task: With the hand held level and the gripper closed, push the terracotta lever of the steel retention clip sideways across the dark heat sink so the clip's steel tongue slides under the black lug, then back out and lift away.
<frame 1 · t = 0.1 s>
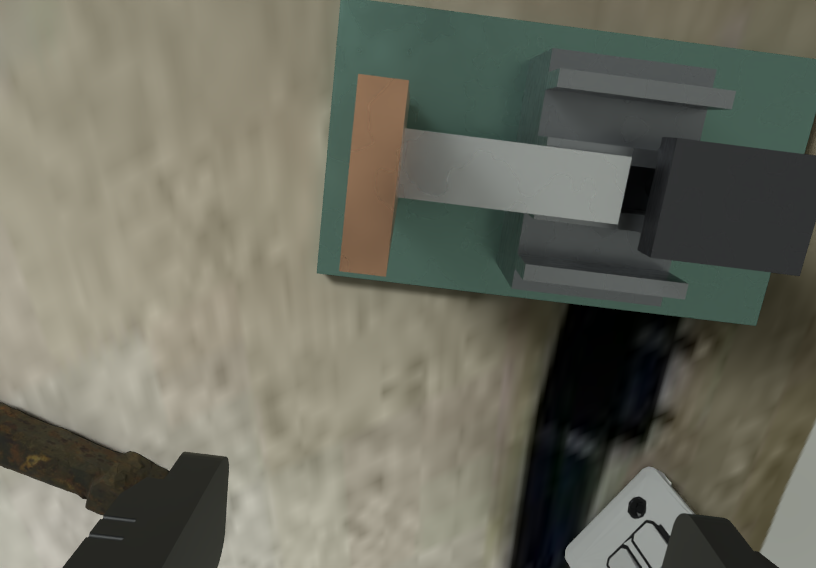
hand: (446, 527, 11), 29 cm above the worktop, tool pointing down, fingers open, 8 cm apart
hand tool: (75, 432, 43), on the worktop
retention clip: (495, 174, 28), point 11 cm above the worktop, slide at 0.0 cm
electrical switch: (632, 521, 45), on the worktop
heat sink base: (493, 162, 38), on the worktop
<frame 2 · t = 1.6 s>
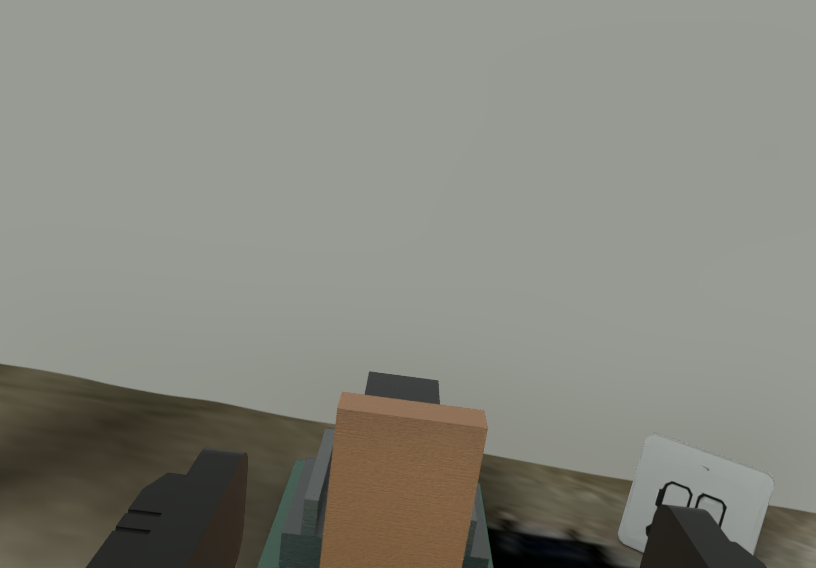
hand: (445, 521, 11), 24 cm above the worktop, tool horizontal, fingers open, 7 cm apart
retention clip: (391, 520, 33), point 11 cm above the worktop, slide at 0.0 cm
electrical switch: (676, 552, 50), on the worktop
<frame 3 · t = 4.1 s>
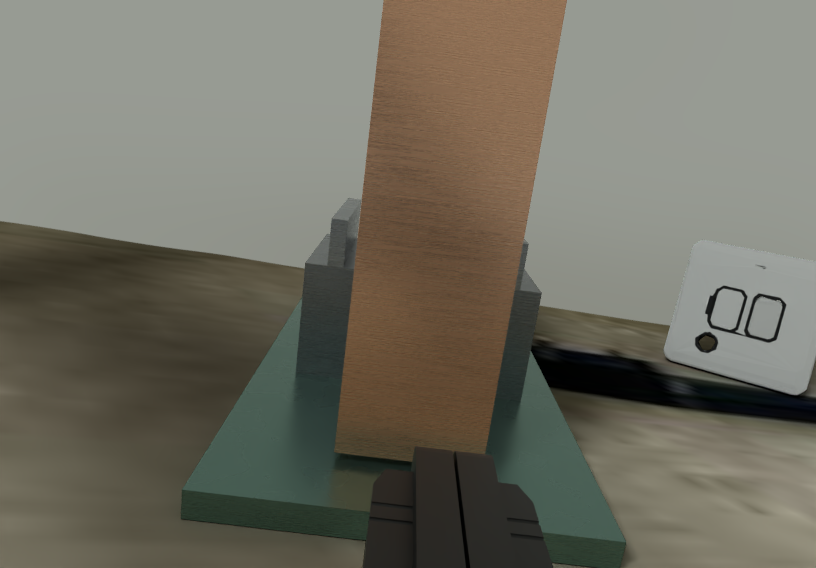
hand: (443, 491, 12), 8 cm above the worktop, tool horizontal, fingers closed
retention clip: (434, 218, 28), point 11 cm above the worktop, slide at 0.0 cm
electrical switch: (726, 371, 46), on the worktop
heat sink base: (405, 416, 32), on the worktop
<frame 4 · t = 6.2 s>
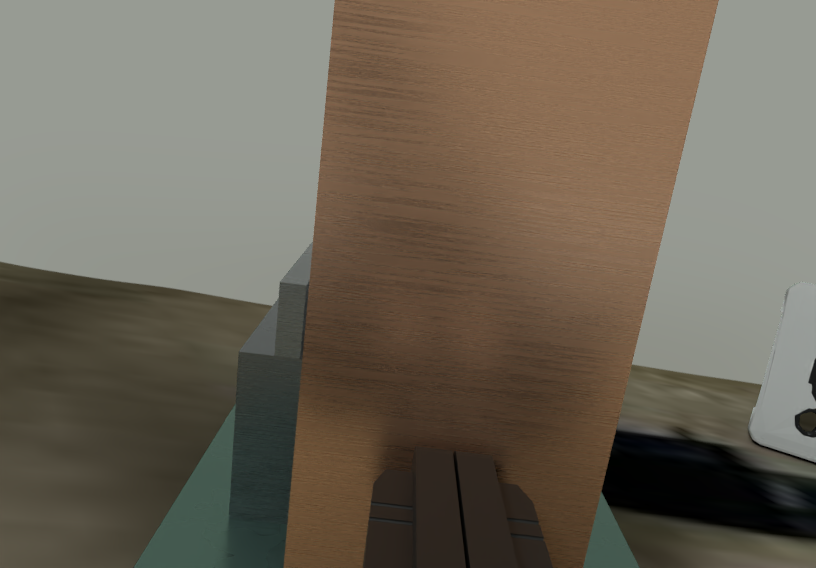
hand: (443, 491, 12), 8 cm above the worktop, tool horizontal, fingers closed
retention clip: (448, 285, 17), point 11 cm above the worktop, slide at 0.6 cm, touching gripper
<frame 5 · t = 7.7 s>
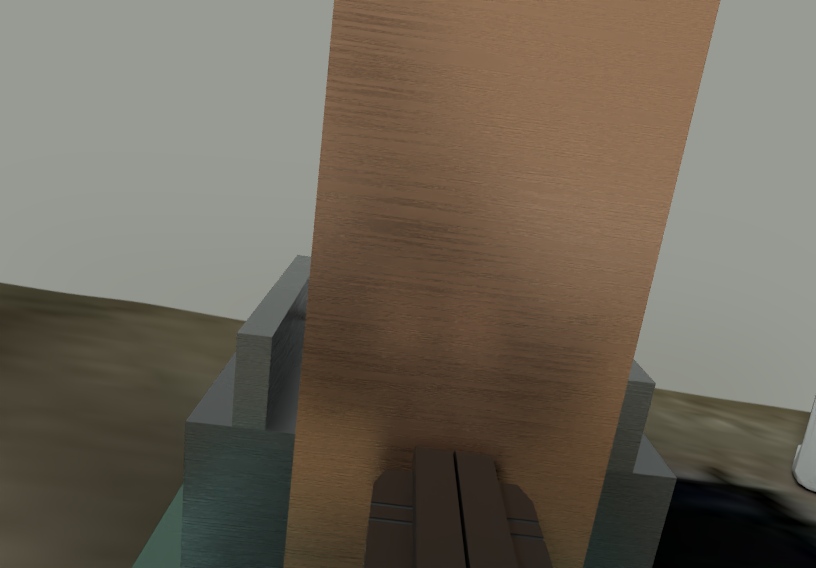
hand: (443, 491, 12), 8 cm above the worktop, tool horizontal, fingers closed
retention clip: (447, 283, 17), point 11 cm above the worktop, slide at 5.2 cm, touching gripper
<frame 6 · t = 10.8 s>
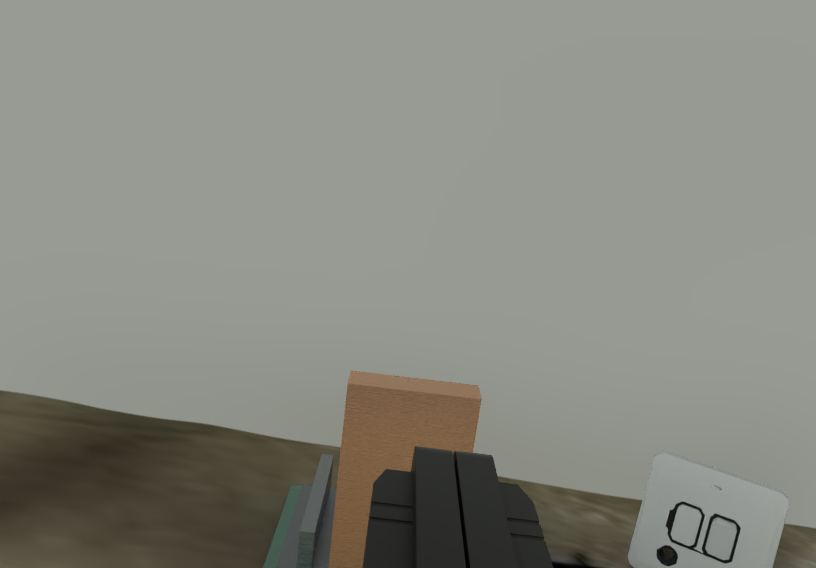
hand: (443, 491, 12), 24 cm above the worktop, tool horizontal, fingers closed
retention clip: (395, 494, 35), point 11 cm above the worktop, slide at 5.0 cm
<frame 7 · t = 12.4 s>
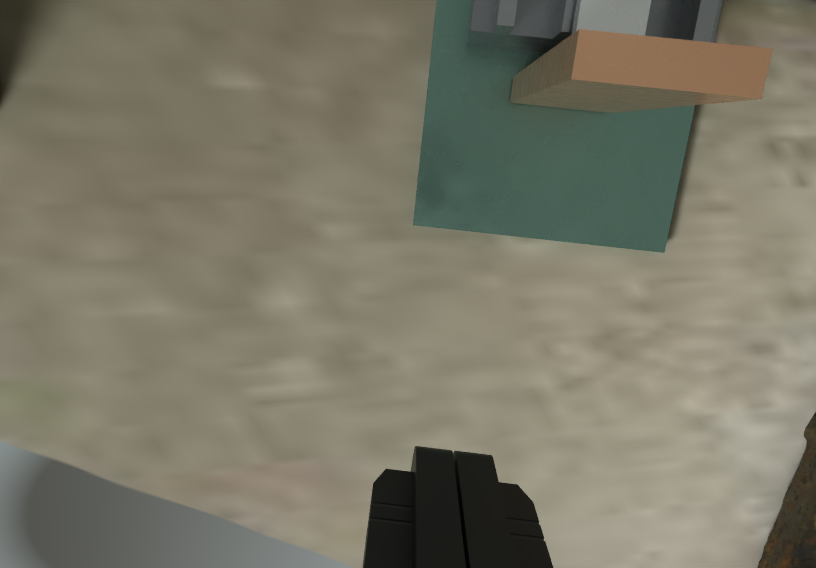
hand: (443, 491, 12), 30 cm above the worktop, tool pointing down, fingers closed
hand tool: (789, 484, 45), on the worktop
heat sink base: (560, 75, 38), on the worktop
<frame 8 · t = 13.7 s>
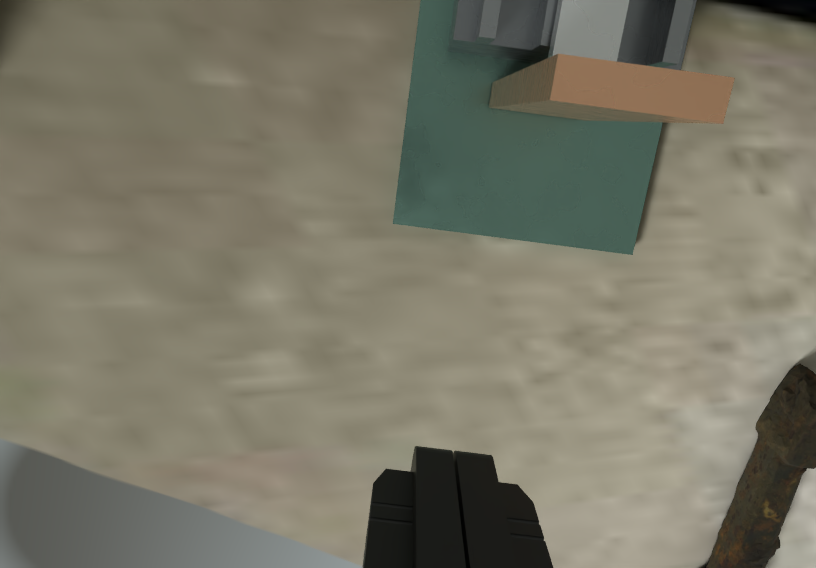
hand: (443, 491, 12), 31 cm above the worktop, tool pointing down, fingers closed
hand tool: (742, 473, 47), on the worktop
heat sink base: (537, 82, 40), on the worktop
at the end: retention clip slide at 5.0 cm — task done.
